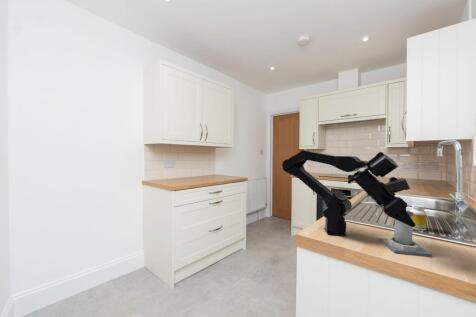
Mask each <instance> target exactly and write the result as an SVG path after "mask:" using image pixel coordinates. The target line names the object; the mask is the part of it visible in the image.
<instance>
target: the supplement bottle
mask: <svg viewBox="0 0 476 317" xmlns="http://www.w3.org/2000/svg"><path fill="white" fill-rule="evenodd" d="M425 209H426V206H424V205H422V204H411V209H410V210H409V211H410V212H413V222H414V223H415V225H416V226H414V227H413V230H416V231H423V232H424V231H426V230H427V218H428V217H427V214H428V213H427V212H426V211H425Z"/></svg>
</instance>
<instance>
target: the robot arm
mask: <svg viewBox="0 0 476 317" xmlns="http://www.w3.org/2000/svg"><path fill="white" fill-rule="evenodd" d="M308 161H310V162H315V163H320V164H324V165H329V166H332V167H334V168H336V169H338V170H340V171H342V172H345V173H352V172H353V174H348V175H347V185H348V184H349V185H350V184H352V183H353V182H355V184H357V185H358V186H359V187H360V188H361V190H363V191H364V192H365V193H366V194H367V195H368V196H369V197H370V198H371V199H372V200H373V201H374V203H376V204H377V206H379V207H380V208H381V210H382V211H383V212H384V214H385V215H386V216H387V217H389V218H392V219H394V220H395V219H396V220H398V221H400V222H403V223H405V224H407V225H409V226H411V227H414V226H416V225H415V223H414V222H413V220H412V219H411V217H410V216H409V215H408V213H407V212H406V211H407V207H408V203H407V202H406V201H405V200H404V199H403V198H401V196H396V195H397V194H396V193H399V192H403V191H408V190H410V189H411V187H410V185H409V183H408V181H407V179H406V178H402V177H401V178H397V177H395V176H391V177H389V179H388V181H387V182H386V183H385V182H382V181H380V180H379V179H378V177H380V178H384V177H386V176H387V175H388V174H390V173H391V172H393V171H394V170H396V169H397V168H399V165H398V163H397V162H396V161H394V159H393V158H391V157H389V155H387V154H385V153H384V152H383V151H379V152H378V153H377V154H376V155H374V157H373V158H371V159H370V160H368V161H367V160H362V159H360V157H357V156H353V155H333V154H327V153H322V152H321V153H320V152H315V151H311V150H308V149H307V150H306V149H303V150H300V151H299V152H298V153H296V154H294V155H292V156H290V157H289V158H288V159H287V158H286V159H285V160H283V161H282V163H281V164H282V166H281V167H282V168H281V169H282V170H283V171H284V172H285V173H287V174H288V175H290V176H294V177H296V178H298V180H300V181H301V182H302V183H303V184H305V185H306V187H308V188H309V189H311V190H312V191H313V192H314V193H315V194H316V195H317V196H318V197H320V198H321V199H322V200H323V202H324V204H325V206H326V207H327V208H326V209H324V210H323V211H322V214H323V216H324V217H323V218H324V219H325V224H324V226H325V227H323V230H324V231H325V233H326V235H330V236H341V237H346V236H347V234H346V233H347V221H346V218H345V217H346V216H347V214H348V213H350V212H351V210H352V207H353V205H352V201H351V200H350V198H349V197H348V196H346V195H344V193H342V192H341V191H335V192H333V191H332V190H331V189H329V188H328V187H327V186H325V185H324V184H323V183H322V182H320V181H319V180H318V179H317V178H315V177H314V176H313V175H312V174H311V173H309V172H308V171H307V170H306V169H305V167H304V165H305V163H307V162H308ZM363 168H365V169H363ZM360 169H363V170H360ZM354 172H355V173H354Z"/></svg>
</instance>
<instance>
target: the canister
mask: <svg viewBox="0 0 476 317" xmlns="http://www.w3.org/2000/svg"><path fill="white" fill-rule="evenodd" d="M406 212H407V213H408V215H409V216H410V217H411V219H412V220H413V212H410V210H409V211H408V210H406ZM413 230H414V229H413V227H411V226H409V225H407V224H405V223H403V222H400V221H398V220H396V219H394V236H393V237H394V242H396V243H399V244H402V245H409V246H412V240H413Z"/></svg>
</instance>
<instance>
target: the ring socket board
mask: <svg viewBox="0 0 476 317" xmlns="http://www.w3.org/2000/svg"><path fill="white" fill-rule="evenodd" d="M378 240H379V241H380V242H381V243H382V244H383V245H385V246H386V247H387V248H388V249H389V250H390V251H391V252H392V253H394V254H402V255H410V256H421V257H430V258H432V255H433V254H432V253H430V252H429V251H428V250H426V249H424V248H423V247H422V246H421V244H420V243H418V242H416V241H415V240H413V239H412V246H409V245H402V244H399V243H396V242H394V236H389V237H387V238H386V237H378Z"/></svg>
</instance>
